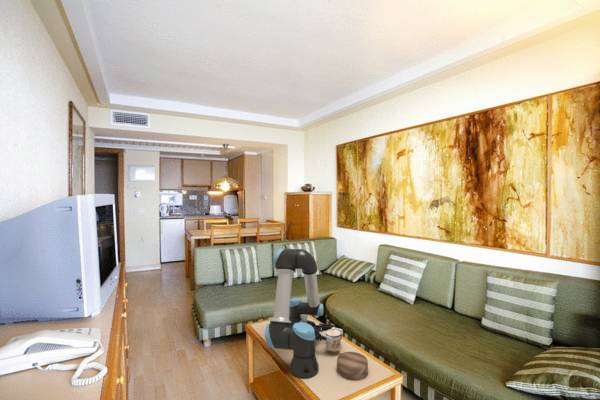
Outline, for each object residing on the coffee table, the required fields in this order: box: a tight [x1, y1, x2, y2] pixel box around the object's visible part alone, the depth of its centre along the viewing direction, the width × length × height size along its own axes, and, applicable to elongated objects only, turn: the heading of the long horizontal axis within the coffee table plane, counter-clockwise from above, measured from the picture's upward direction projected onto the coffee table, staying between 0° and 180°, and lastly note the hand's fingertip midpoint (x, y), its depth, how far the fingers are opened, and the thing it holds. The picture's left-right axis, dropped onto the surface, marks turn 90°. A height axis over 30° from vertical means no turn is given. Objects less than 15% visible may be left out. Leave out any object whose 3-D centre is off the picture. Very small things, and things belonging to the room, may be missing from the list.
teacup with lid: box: [324, 327, 343, 352], centre depth 171 cm, size 12×9×12 cm
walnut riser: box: [336, 351, 369, 381], centre depth 152 cm, size 16×16×6 cm
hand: (337, 335), depth 170 cm, fingers closed on teacup with lid, 12 cm apart
